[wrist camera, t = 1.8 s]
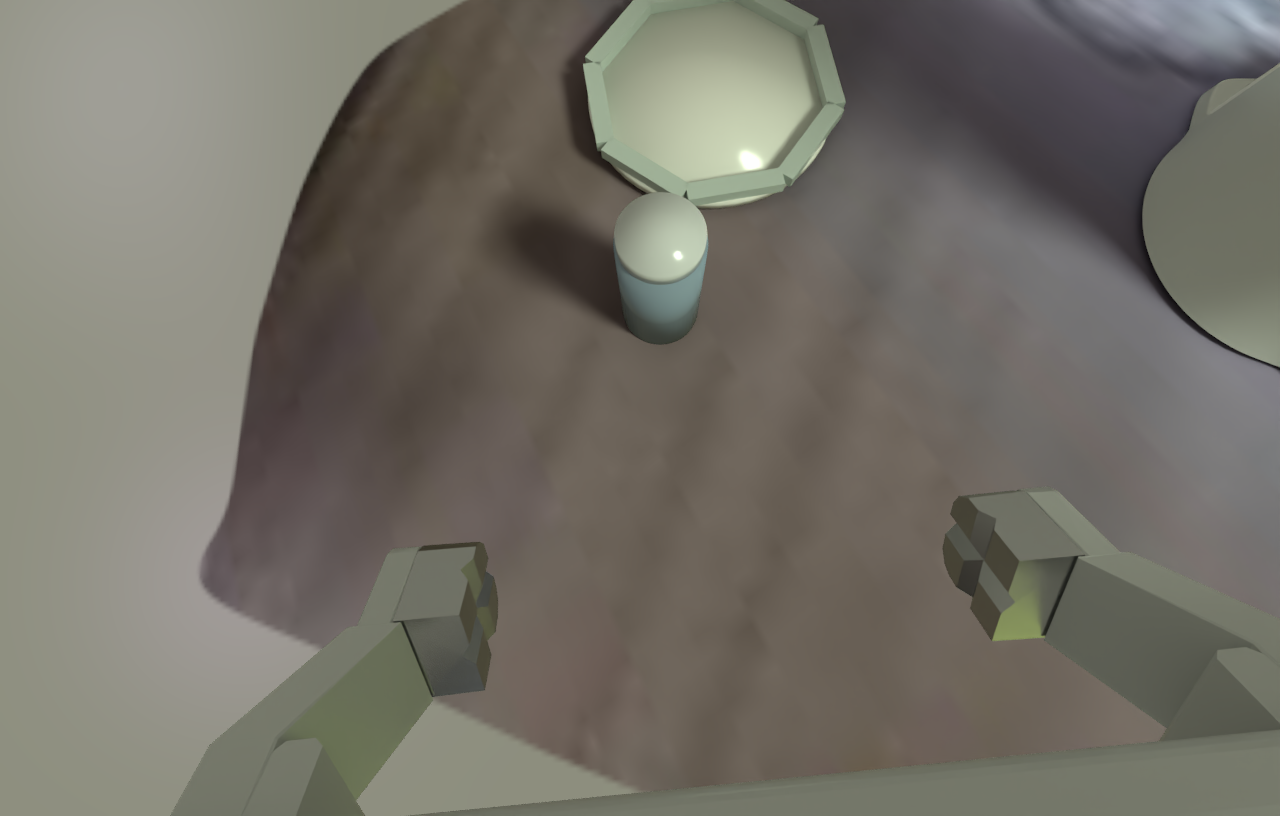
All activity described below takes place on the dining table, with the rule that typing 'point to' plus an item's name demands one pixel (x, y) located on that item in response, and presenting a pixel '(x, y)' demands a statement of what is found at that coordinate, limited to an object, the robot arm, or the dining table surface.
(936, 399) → the dining table surface
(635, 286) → the ball
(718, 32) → the plate
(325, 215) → the dining table surface
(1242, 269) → the robot arm
